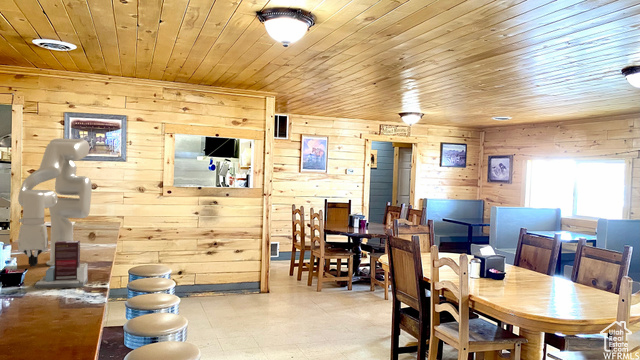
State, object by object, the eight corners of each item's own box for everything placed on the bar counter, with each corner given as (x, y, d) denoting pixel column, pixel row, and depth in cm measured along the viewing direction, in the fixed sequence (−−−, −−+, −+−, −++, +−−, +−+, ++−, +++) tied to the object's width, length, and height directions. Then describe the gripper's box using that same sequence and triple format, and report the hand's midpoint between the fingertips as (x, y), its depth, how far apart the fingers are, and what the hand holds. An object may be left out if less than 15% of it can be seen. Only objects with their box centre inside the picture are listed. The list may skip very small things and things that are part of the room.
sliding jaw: (55, 273, 202) (56, 262, 202) (62, 273, 202) (62, 262, 202) (45, 283, 186) (45, 270, 186) (52, 283, 187) (53, 270, 187)
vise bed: (41, 282, 194) (42, 263, 193) (87, 280, 199) (88, 262, 198) (34, 288, 184) (35, 269, 184) (83, 286, 189) (83, 268, 189)
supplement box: (80, 278, 196) (80, 240, 195) (77, 281, 191) (78, 242, 190) (56, 279, 193) (57, 240, 193) (53, 282, 188) (54, 242, 188)
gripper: (9, 222, 190) (9, 268, 191) (51, 222, 194) (51, 267, 195) (15, 220, 197) (15, 264, 198) (56, 220, 201) (55, 263, 202)
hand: (33, 265), depth 196 cm, fingers closed
